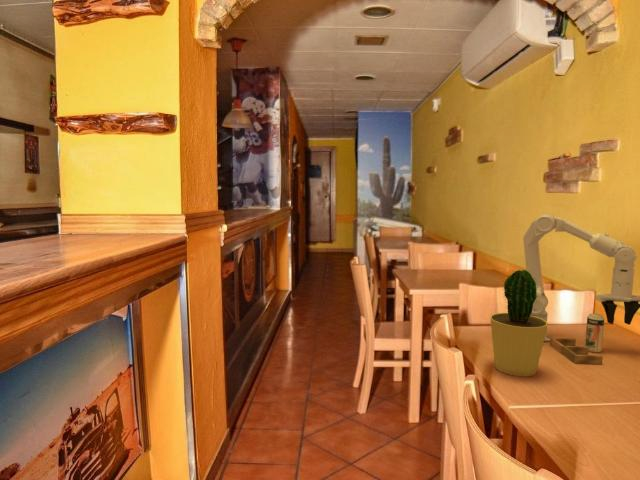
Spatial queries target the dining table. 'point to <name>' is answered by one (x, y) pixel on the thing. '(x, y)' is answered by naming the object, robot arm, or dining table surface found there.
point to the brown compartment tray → (574, 351)
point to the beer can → (594, 332)
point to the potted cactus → (518, 328)
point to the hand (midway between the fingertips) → (618, 323)
